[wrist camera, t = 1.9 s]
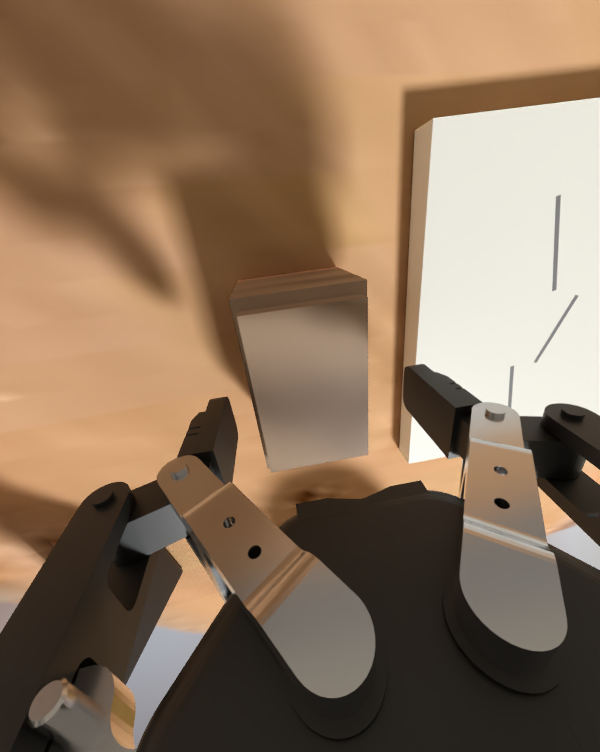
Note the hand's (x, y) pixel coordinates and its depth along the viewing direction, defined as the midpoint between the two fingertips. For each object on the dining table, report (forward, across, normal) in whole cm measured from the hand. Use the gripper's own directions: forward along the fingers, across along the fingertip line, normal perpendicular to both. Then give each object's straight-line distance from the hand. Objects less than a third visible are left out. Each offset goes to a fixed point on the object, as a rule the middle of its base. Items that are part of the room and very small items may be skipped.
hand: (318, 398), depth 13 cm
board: (+6, -15, 0) cm, 16 cm away
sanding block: (+6, 0, 0) cm, 6 cm away
